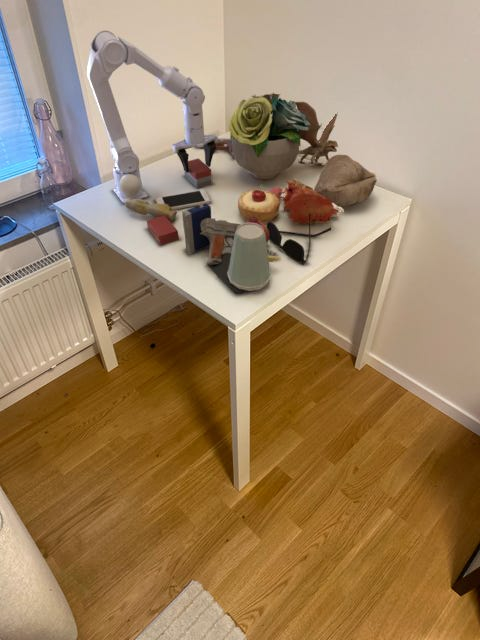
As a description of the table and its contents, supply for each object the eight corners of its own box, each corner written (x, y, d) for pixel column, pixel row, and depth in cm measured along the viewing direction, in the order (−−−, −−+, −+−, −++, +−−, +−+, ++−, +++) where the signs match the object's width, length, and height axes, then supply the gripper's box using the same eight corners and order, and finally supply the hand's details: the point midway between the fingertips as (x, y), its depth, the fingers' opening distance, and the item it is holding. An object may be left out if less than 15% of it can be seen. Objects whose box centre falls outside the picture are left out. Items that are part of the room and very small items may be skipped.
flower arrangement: (254, 150, 172) (255, 77, 155) (316, 169, 162) (324, 92, 145) (211, 178, 158) (206, 100, 141) (276, 201, 147) (279, 119, 130)
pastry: (232, 221, 139) (231, 193, 133) (245, 201, 147) (245, 174, 141) (272, 229, 136) (273, 201, 130) (284, 208, 144) (285, 180, 138)
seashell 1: (276, 202, 126) (335, 194, 122) (275, 165, 128) (333, 156, 125) (288, 230, 142) (340, 223, 138) (286, 196, 144) (338, 189, 141)
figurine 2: (295, 217, 143) (306, 198, 145) (293, 210, 140) (304, 191, 142) (260, 205, 148) (271, 188, 150) (257, 199, 145) (269, 180, 147)
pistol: (210, 262, 120) (203, 215, 121) (204, 265, 122) (197, 218, 123) (260, 265, 134) (254, 223, 135) (254, 267, 135) (248, 226, 136)
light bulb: (117, 209, 143) (114, 174, 138) (128, 204, 148) (126, 171, 143) (134, 212, 142) (132, 177, 137) (145, 207, 146) (143, 173, 142)
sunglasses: (341, 250, 130) (344, 234, 127) (299, 266, 124) (301, 250, 121) (302, 220, 140) (304, 204, 136) (261, 234, 134) (262, 218, 130)
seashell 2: (392, 177, 140) (359, 139, 135) (358, 222, 138) (323, 185, 133) (361, 184, 154) (330, 150, 149) (330, 224, 153) (298, 191, 148)
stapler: (307, 194, 144) (303, 199, 144) (307, 185, 139) (303, 189, 139) (343, 218, 140) (339, 222, 140) (344, 209, 135) (340, 213, 135)
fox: (227, 254, 120) (229, 247, 120) (240, 267, 128) (241, 260, 128) (273, 256, 115) (274, 249, 115) (284, 269, 123) (285, 262, 123)
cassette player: (208, 240, 133) (206, 201, 124) (213, 244, 131) (211, 205, 123) (185, 250, 130) (180, 210, 121) (189, 254, 128) (185, 214, 120)
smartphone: (155, 200, 148) (155, 197, 148) (204, 191, 152) (204, 189, 151) (160, 212, 143) (159, 209, 143) (210, 203, 147) (210, 200, 146)
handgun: (192, 158, 168) (196, 145, 177) (248, 158, 168) (249, 145, 177) (191, 149, 166) (196, 136, 175) (248, 150, 165) (249, 136, 174)
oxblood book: (183, 168, 157) (183, 162, 156) (199, 164, 159) (198, 158, 158) (195, 179, 152) (195, 173, 150) (211, 175, 154) (211, 169, 152)
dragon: (314, 165, 148) (321, 98, 142) (266, 162, 168) (270, 104, 162) (353, 167, 157) (361, 105, 151) (303, 165, 177) (309, 110, 171)
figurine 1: (179, 208, 142) (131, 193, 142) (176, 205, 136) (125, 189, 137) (174, 225, 142) (126, 210, 143) (170, 223, 137) (120, 207, 137)
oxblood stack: (147, 229, 137) (146, 220, 135) (166, 223, 139) (164, 214, 137) (160, 245, 131) (158, 236, 129) (179, 239, 133) (178, 230, 131)
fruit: (245, 261, 126) (245, 228, 119) (233, 245, 131) (232, 212, 124) (273, 254, 128) (275, 221, 121) (260, 238, 133) (261, 205, 126)
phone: (236, 292, 116) (204, 260, 125) (236, 295, 116) (204, 263, 125) (261, 281, 118) (229, 251, 128) (261, 284, 119) (229, 253, 128)
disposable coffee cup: (218, 225, 110) (219, 273, 121) (242, 252, 104) (241, 301, 115) (258, 211, 114) (255, 260, 125) (284, 237, 108) (278, 285, 119)
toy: (265, 241, 132) (258, 242, 131) (279, 255, 126) (272, 256, 125) (264, 245, 132) (257, 246, 131) (279, 259, 127) (272, 261, 126)
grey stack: (184, 176, 160) (184, 167, 157) (199, 172, 161) (198, 164, 159) (197, 188, 154) (196, 179, 152) (211, 184, 156) (211, 175, 153)
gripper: (177, 136, 140) (181, 179, 150) (221, 125, 145) (223, 167, 155) (167, 127, 145) (172, 170, 154) (210, 117, 150) (213, 159, 159)
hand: (197, 168), depth 155 cm, fingers open, 7 cm apart
